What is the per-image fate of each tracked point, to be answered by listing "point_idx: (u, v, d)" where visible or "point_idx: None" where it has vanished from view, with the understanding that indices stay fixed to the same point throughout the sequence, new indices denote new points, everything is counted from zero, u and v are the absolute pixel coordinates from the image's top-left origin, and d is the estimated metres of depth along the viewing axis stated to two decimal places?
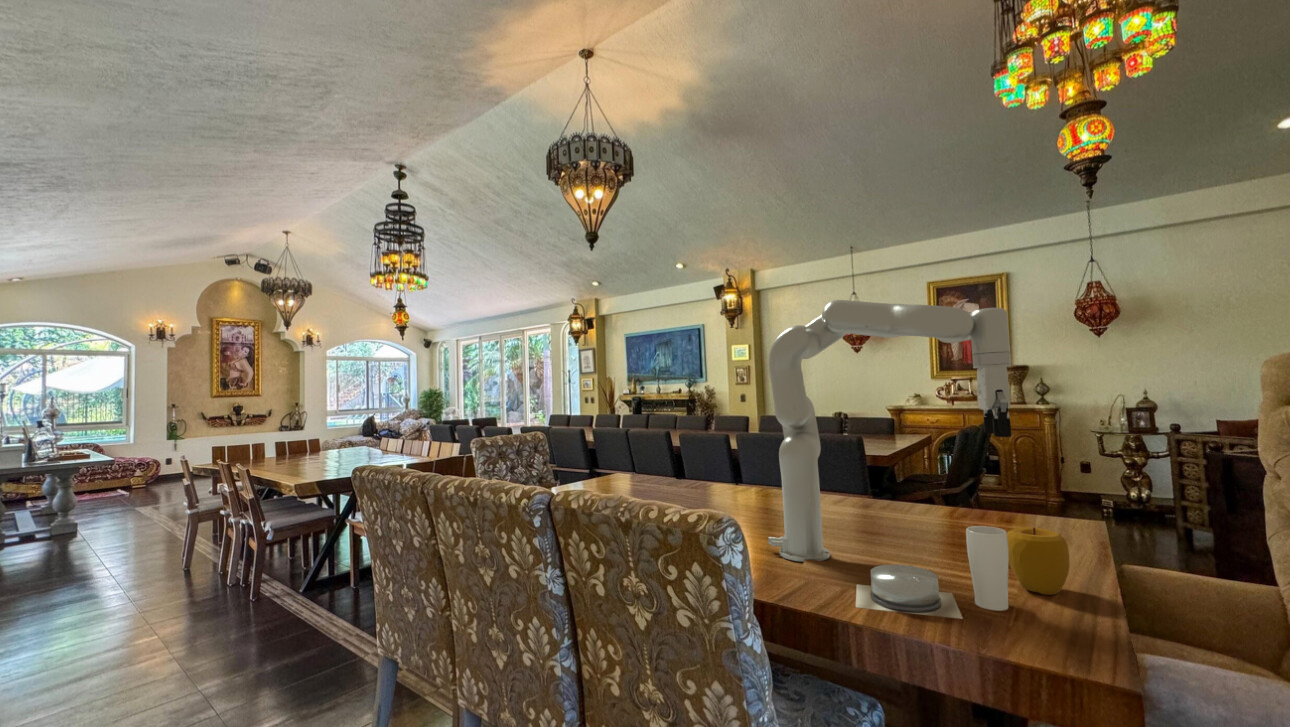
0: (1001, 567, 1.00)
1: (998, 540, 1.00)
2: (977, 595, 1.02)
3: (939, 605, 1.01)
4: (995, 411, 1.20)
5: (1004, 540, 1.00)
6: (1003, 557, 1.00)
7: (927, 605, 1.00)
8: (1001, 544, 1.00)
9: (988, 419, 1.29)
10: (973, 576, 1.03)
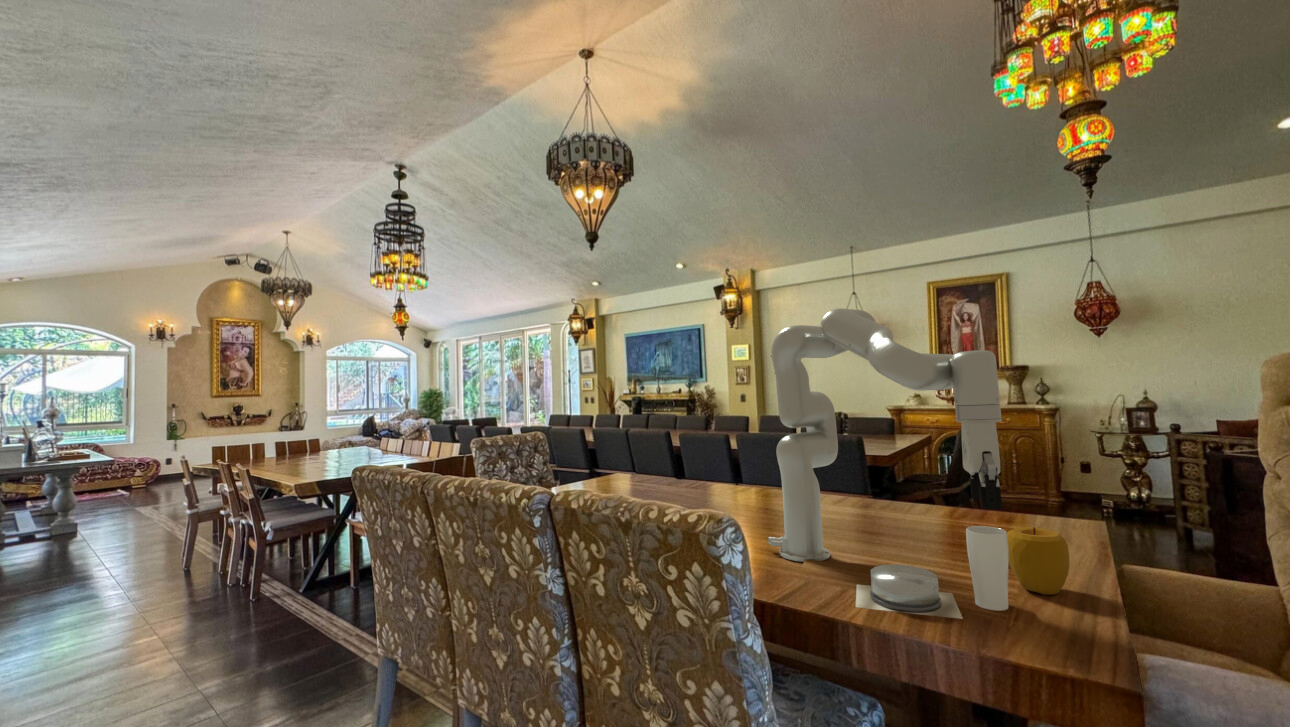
0: (1001, 567, 1.00)
1: (998, 540, 1.00)
2: (977, 595, 1.02)
3: (939, 605, 1.01)
4: (982, 477, 0.99)
5: (1004, 540, 1.00)
6: (1003, 557, 1.00)
7: (927, 605, 1.00)
8: (1001, 544, 1.00)
9: (975, 482, 1.08)
10: (973, 576, 1.03)
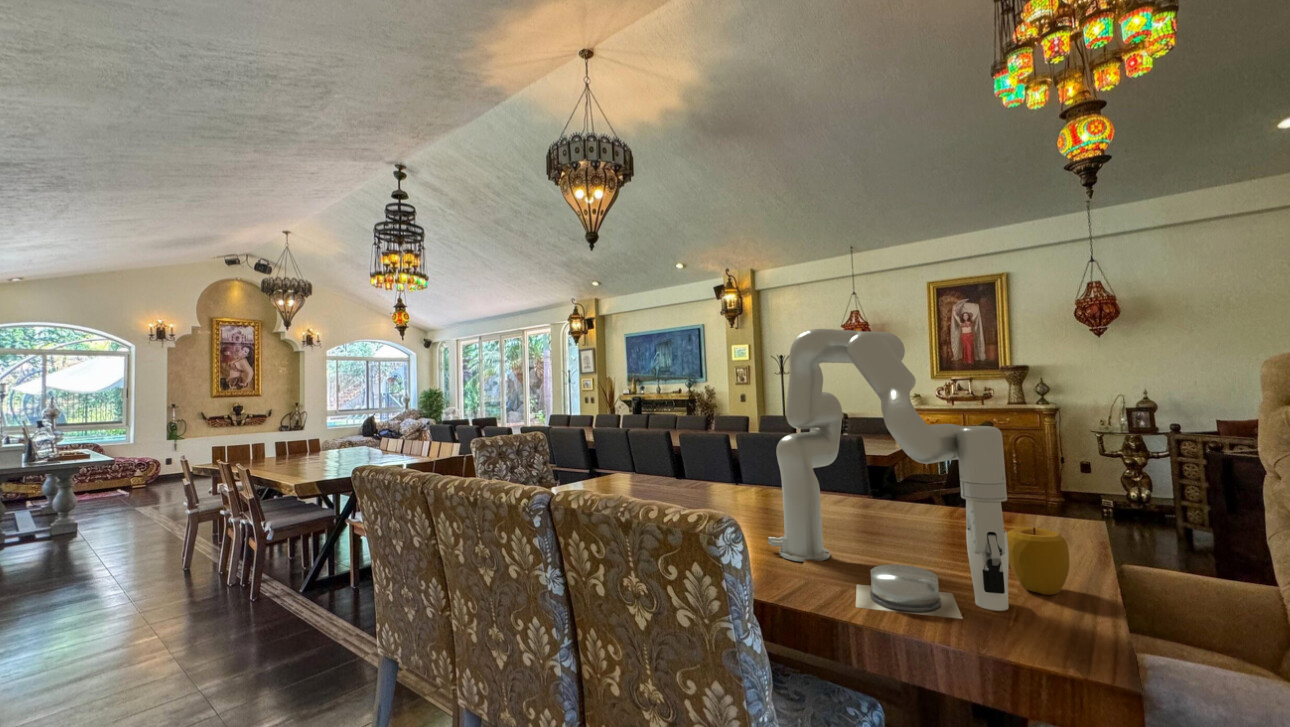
0: None
1: None
2: (977, 595, 1.02)
3: (939, 605, 1.01)
4: (986, 562, 0.99)
5: None
6: (1003, 557, 1.00)
7: (927, 605, 1.00)
8: None
9: None
10: (973, 576, 1.03)
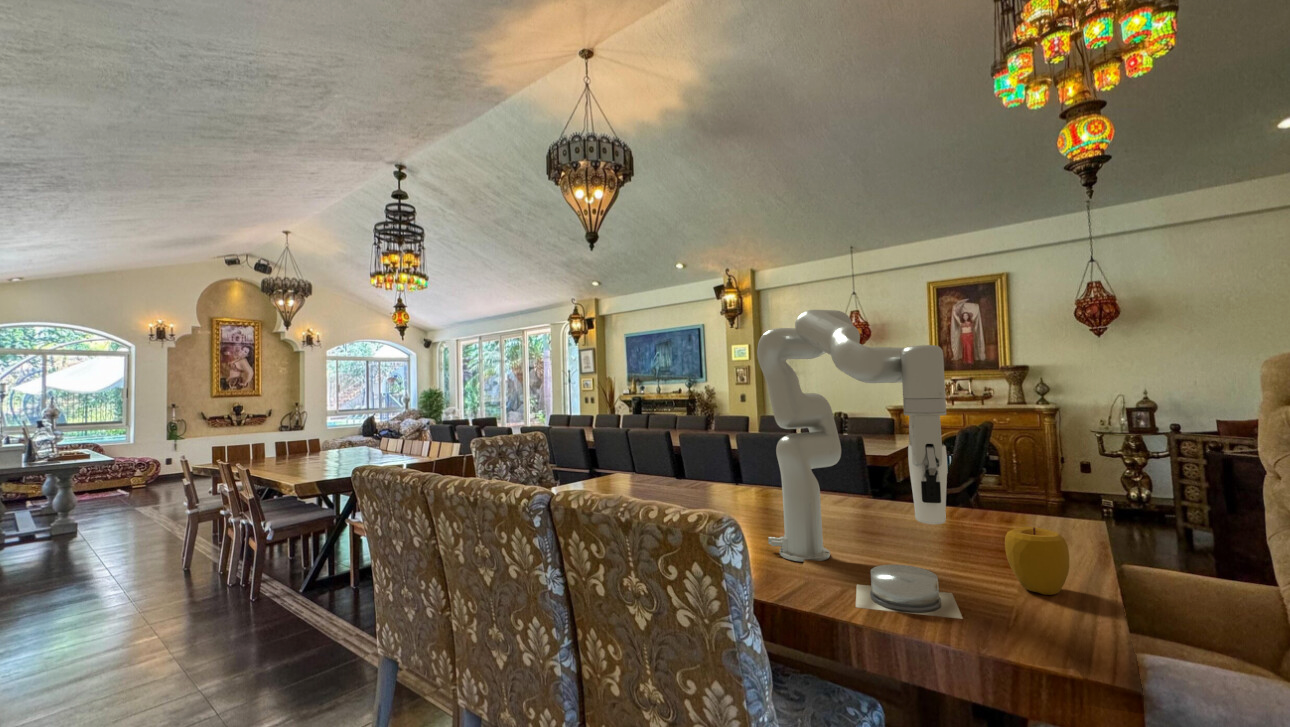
0: (939, 478, 1.03)
1: None
2: (917, 507, 1.06)
3: (939, 605, 1.01)
4: (924, 473, 1.03)
5: (942, 453, 1.03)
6: (941, 469, 1.03)
7: (927, 605, 1.00)
8: None
9: None
10: (913, 489, 1.06)
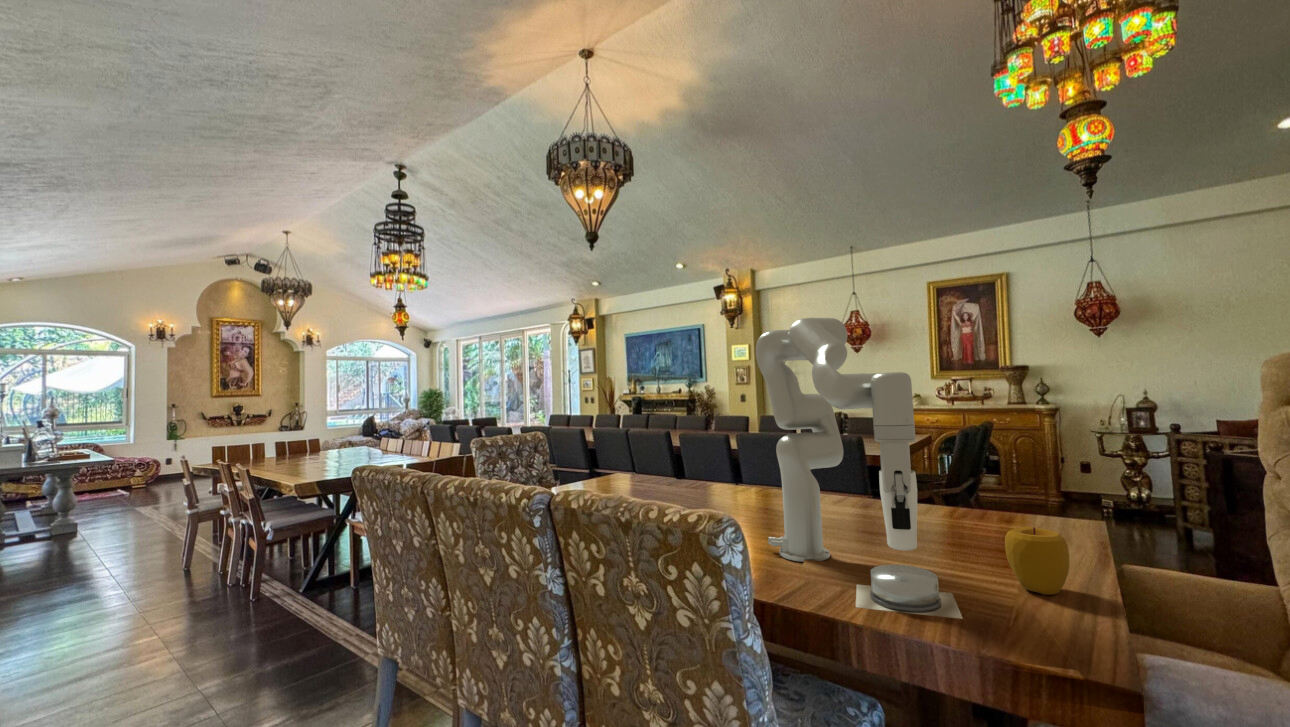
0: (908, 505, 1.04)
1: None
2: (888, 533, 1.06)
3: (939, 605, 1.01)
4: (893, 499, 1.04)
5: (912, 479, 1.04)
6: (910, 495, 1.04)
7: (927, 605, 1.00)
8: None
9: None
10: (884, 515, 1.07)
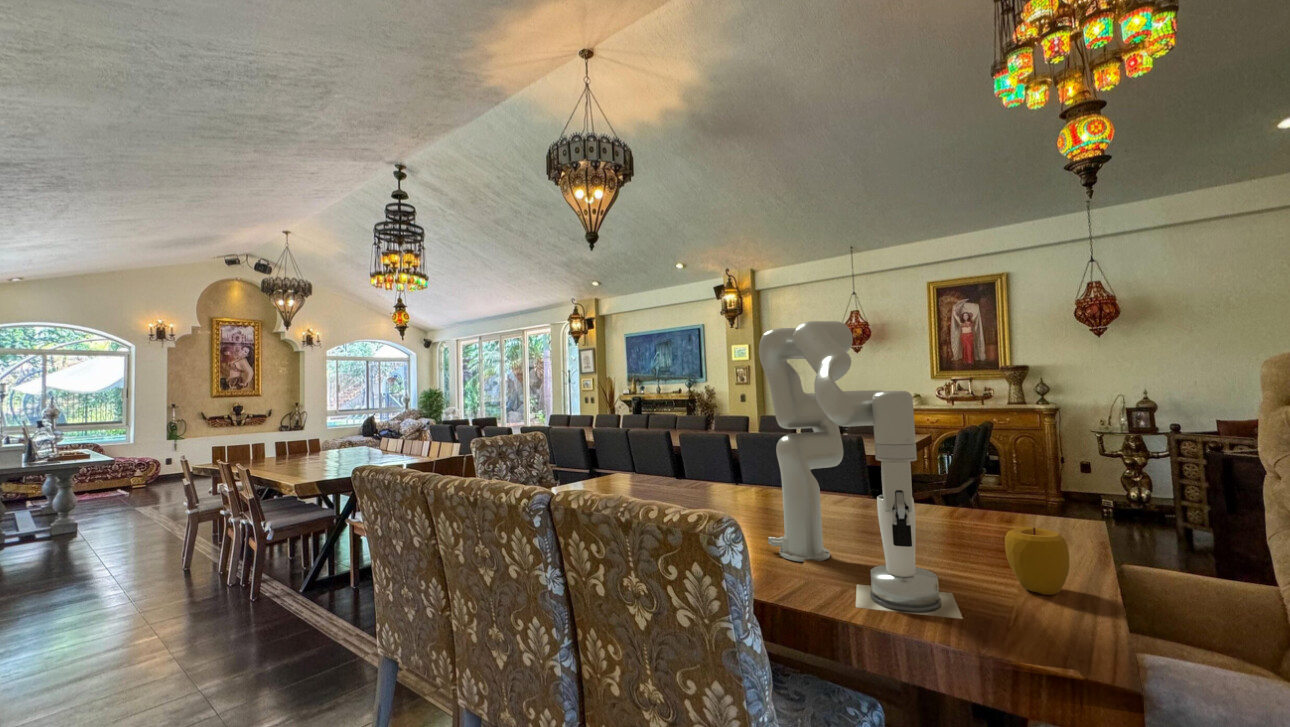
0: None
1: None
2: (886, 559, 1.07)
3: (939, 605, 1.01)
4: (894, 516, 1.02)
5: None
6: (909, 522, 1.04)
7: (927, 605, 1.00)
8: None
9: None
10: (883, 541, 1.07)
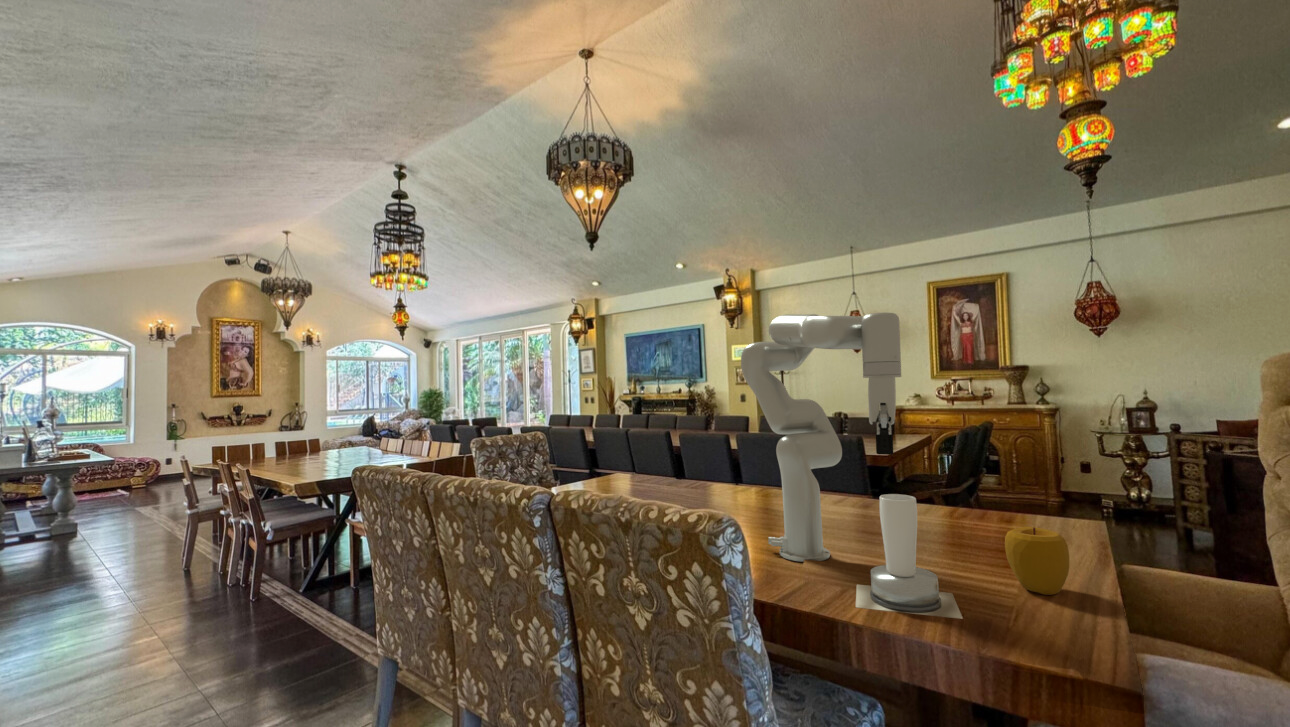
0: (908, 532, 1.04)
1: (906, 506, 1.04)
2: (887, 559, 1.07)
3: (939, 605, 1.01)
4: (878, 426, 1.10)
5: (912, 506, 1.04)
6: (910, 522, 1.04)
7: (927, 605, 1.00)
8: (909, 509, 1.04)
9: None
10: (884, 541, 1.07)
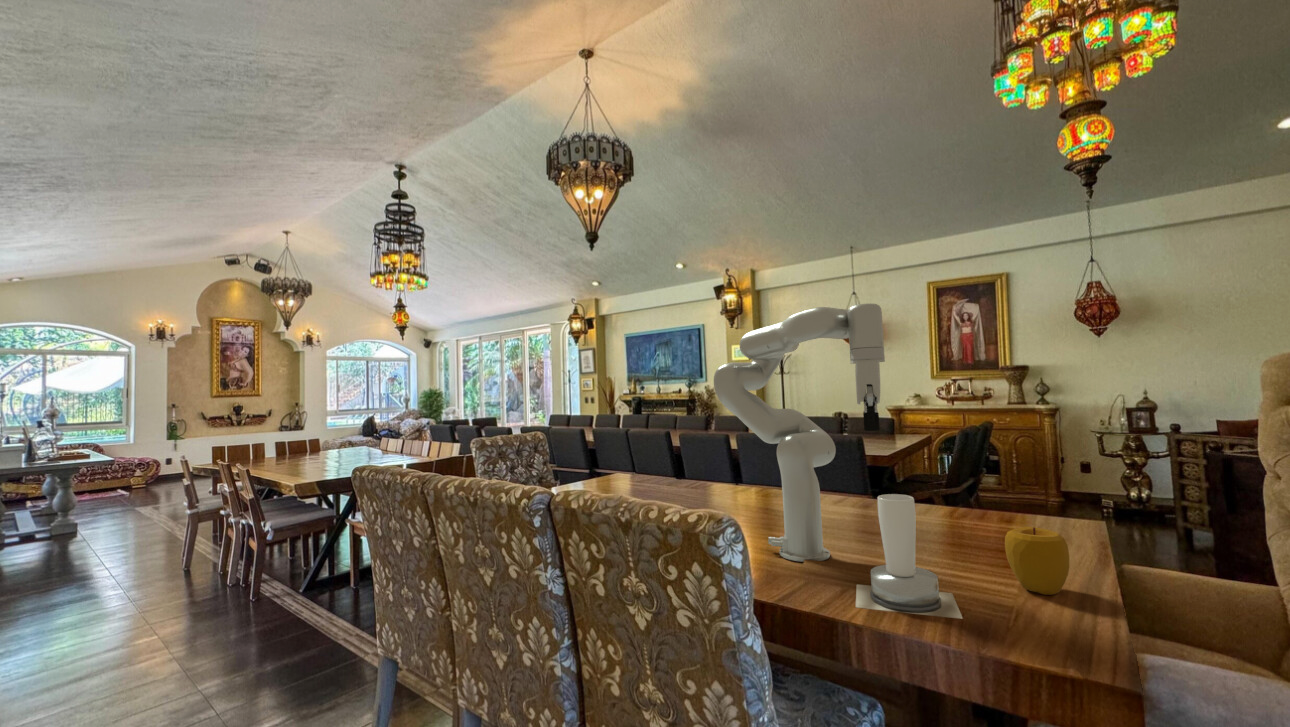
0: (907, 531, 1.04)
1: (904, 506, 1.04)
2: (887, 559, 1.07)
3: (939, 605, 1.01)
4: (865, 405, 1.22)
5: (910, 506, 1.04)
6: (909, 522, 1.04)
7: (927, 605, 1.00)
8: (907, 509, 1.04)
9: None
10: (883, 541, 1.07)
